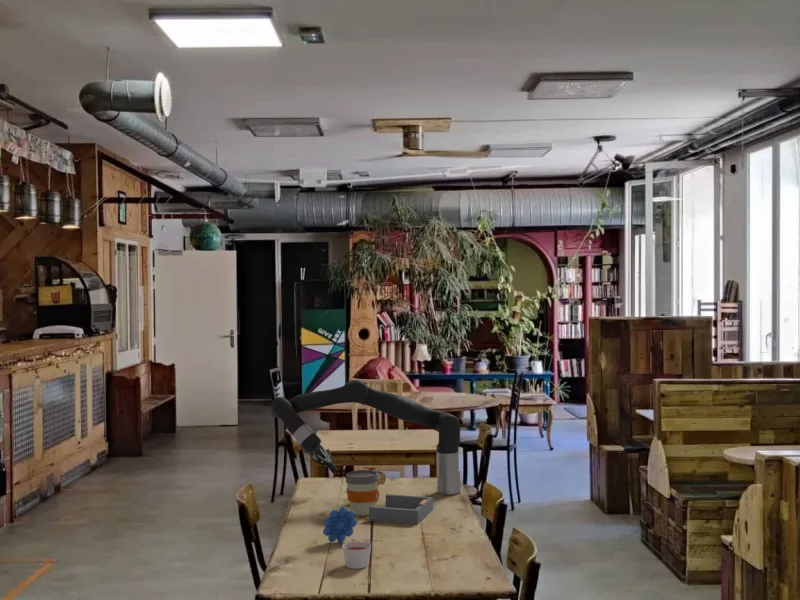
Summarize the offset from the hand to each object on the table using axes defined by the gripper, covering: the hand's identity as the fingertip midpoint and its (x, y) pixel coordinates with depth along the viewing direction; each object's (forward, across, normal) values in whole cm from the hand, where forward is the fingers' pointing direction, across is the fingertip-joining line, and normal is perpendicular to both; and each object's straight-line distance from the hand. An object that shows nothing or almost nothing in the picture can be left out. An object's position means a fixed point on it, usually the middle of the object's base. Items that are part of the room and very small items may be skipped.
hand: (335, 471), depth 321 cm
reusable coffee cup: (+19, 0, +3) cm, 19 cm away
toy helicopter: (+16, +23, +6) cm, 29 cm away
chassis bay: (+30, 0, -8) cm, 31 cm away
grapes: (+23, -36, -1) cm, 43 cm away
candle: (+33, -58, -11) cm, 68 cm away
